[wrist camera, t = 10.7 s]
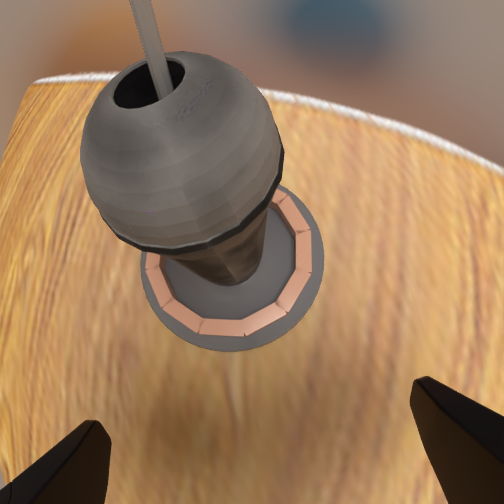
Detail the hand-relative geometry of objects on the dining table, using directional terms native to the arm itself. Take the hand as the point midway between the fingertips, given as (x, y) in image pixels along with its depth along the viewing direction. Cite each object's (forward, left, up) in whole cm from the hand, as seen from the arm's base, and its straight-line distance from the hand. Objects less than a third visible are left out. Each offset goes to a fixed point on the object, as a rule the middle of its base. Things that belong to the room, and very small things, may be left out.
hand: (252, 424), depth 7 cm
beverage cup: (+9, +3, -12) cm, 15 cm away
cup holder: (+8, +3, -13) cm, 16 cm away
